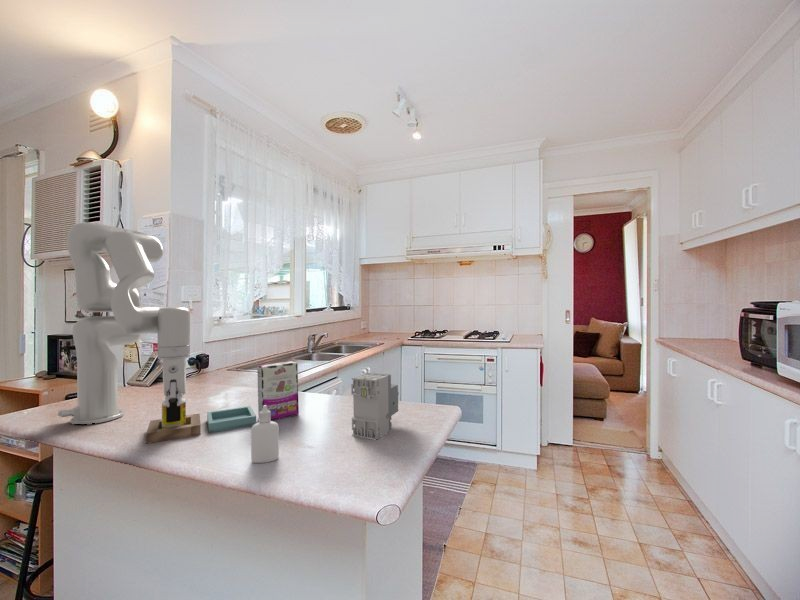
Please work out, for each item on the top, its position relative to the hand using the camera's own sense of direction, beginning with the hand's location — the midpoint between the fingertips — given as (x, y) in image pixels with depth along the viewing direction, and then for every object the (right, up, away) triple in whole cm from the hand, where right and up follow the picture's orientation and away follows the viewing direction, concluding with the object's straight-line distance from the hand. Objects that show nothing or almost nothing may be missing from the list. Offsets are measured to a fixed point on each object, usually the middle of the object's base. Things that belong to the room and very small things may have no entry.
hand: (173, 417), depth 98 cm
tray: (+12, -4, +7) cm, 15 cm away
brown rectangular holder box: (0, -4, 0) cm, 4 cm away
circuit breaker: (+56, -3, 0) cm, 56 cm away
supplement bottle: (0, -4, 0) cm, 4 cm away
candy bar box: (+25, -4, +12) cm, 28 cm away
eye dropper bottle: (+32, -4, -19) cm, 37 cm away
